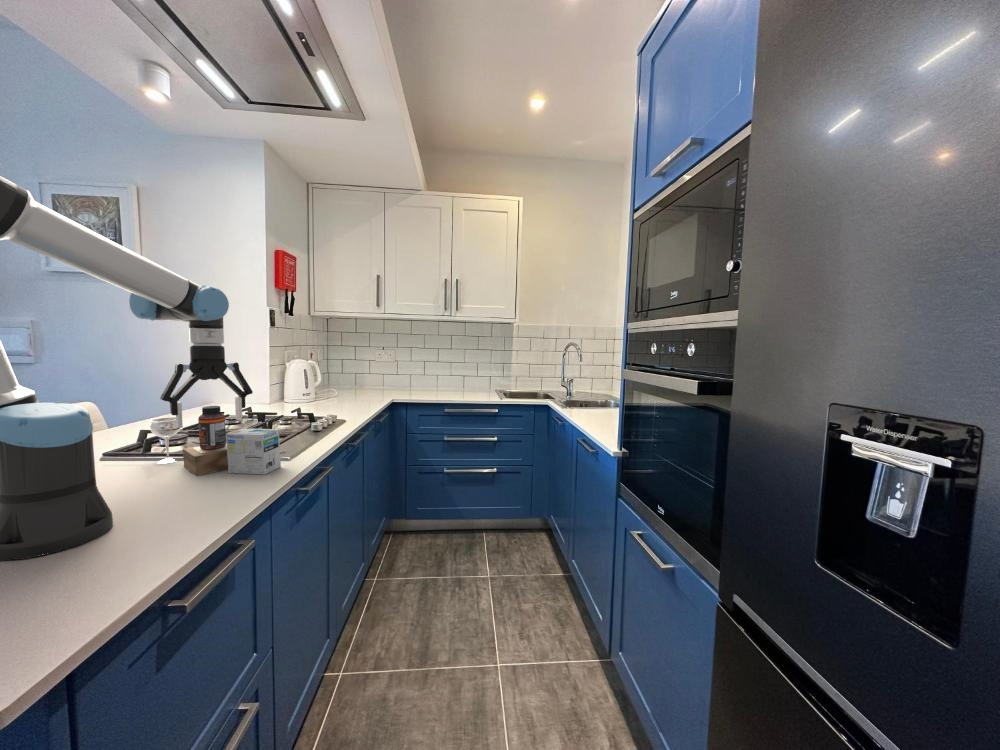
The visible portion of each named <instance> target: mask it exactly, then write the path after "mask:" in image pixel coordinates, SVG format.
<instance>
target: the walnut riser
mask: <svg viewBox="0 0 1000 750" xmlns="http://www.w3.org/2000/svg"><path fill="white" fill-rule="evenodd" d="M182 454H183V455H182V458H183V459H182V460H183V467H184V468H185V469H187V470H188V471H189V472H190V473H191V474H193V475H194V476H195V477H196V476H201V475H206V474H211V473H214V472H220V471H224V470H228V458H227V442H226V446H224V447H223V448H219V449H213V450H203V449H201V448H200V445H197V446H191V447H186V448H182Z"/></svg>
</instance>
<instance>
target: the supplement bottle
mask: <svg viewBox="0 0 1000 750" xmlns="http://www.w3.org/2000/svg"><path fill="white" fill-rule="evenodd" d="M201 408H202V409H201V411H202V412H201V415H199V416H198V418H197V421H198V438H199V446H200V448H201V449H203V450H213V449H219V448H223V447H224V446H226V433H227V432H226V431H227V430H226V427H227V426H226V416H225V414H224V413H222V412H221V406H220V405H206V406H203V407H201Z"/></svg>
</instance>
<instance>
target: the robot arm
mask: <svg viewBox="0 0 1000 750" xmlns="http://www.w3.org/2000/svg"><path fill="white" fill-rule="evenodd" d="M3 240H7V241H9V242H12V243H13V244H14V243H15V244H17V245H20V246H21V247H24V248H27V249H29V250H31V251H33V252H35V253H39V254H40V255H42V256H45V257H47V258H49V259H51V260H54V261H57V262H59V263H61V264H63V265H66V266H69V267H71V268H73V269H76V270H78V271H80V272H82V273H85V274H87V275H90V276H92V277H94V278H97V279H99V280H101V281H103V282H106V283H108V284H111V285H113V286H115V287H117V288H120V289H122V290H125V291H127V292H129V293H130V295H129V299H128V300H129V309H130V311H131V313H132V314H133V316H135V317H136V318H137V319H140V320H147V321H148V320H149V321H151V322H152V321H165V322H166V321H167V322H168V321H169V322H188V331H189V332H188V335H189V336H188V337H189V344H192V345H190V347H189V356H190V357H189V360H190V361H189V364H183V363H175V365H174V373H173V374H172V375H171V377H170V380H169V381H168V383H167V385H166V386H165V388H164V390H163V392H162V393H161V395H160V400H161V401H163V402H168V403H169V408H170V410H169V411H170V415H172V416H175V417H176V427H178V428H180V429H182V428H183V427H184V425H183V405H182V402H180V400H181V398H182V397H183V396H184V395H185V394H186V393H187V392H188V391H189V390H190V389H191V388H192V386H194V384H195V383H197V382H198V381H199V380H201V381H207V380H213V381H214V380H215V381H217V380H218V379H219V380H220V381H222V382H223V383H224V384H225V385H226V386H227V387H228V388H230V389H231V390H232V391H233V392H234V393H235V394H236V395H237V396H235V397H234V403H235V405H234V406H235V407H234V408H235V421H236V420H237V421H241V422H242V421H243V409H245V408H246V397H248V395H252V394H253V390H252V388H251V386H250V385H249V383H248V381H247V380H246V378H245V376H244V375H243V373H242V372H241V370H240V365H239V363H238V362H235V361H234V362H233V361H232V362H229V363H228V362H227V363H226V359H225V358H226V354H225V346H223V344H225V334H224V333H225V331H224V317H225V316H226V315H227V313H228V311H229V307H230V303H229V299H228V296H227V295H226V294H225V292H224V291H222V290H221V288H219V287H217V286H212V285H202V284H197V283H195V282H193V281H191V280H190V279H187V278H185V277H182V275H179V274H177V273H175V272H173V271H172V270H169V269H167V268H165V267H163V266H162V265H160V264H157V263H156V262H154V261H152V260H150V259H148V258H147V257H144V256H142V255H140V254H138V253H136V252H134V251H132V250H131V249H128V248H126V247H125V246H123V245H121V244H120V243H117V242H115V241H113V240H111V239H109V238H107V237H105V236H103V235H101V234H99V233H97V232H96V231H94V230H92V229H89V228H88V227H86V226H84V225H82V224H81V223H79V222H76V221H74V220H72V219H70V218H68V217H66V216H64V215H62V214H60V213H58V212H56V211H55V210H53V209H50V208H49V207H47V206H45V205H43V204H41V203H40V202H38V201H35V199H34V198H33V195H32V194H31V192H30V191H29V190H28V189H25V188H24V187H22V186H20V185H18V184H17V183H14V182H12V181H10V180H9V179H6V178H5V177H3V176H1V175H0V241H3ZM227 368H228V370H229V371H232V374H233V375H234V377H235V379H236V380H237V381H238V383H239V385H240V386H241V388H242V389H241V388H240V387H239V386H238V385H236V383H235V382H233V380H231V379H230V378H229V376H228V375H227V374H226V373H225V371H226V370H227ZM187 370H189V371H190V372H191V373H192V374H191V375H190V376H189V377H188V379H186V381H185V382H183V384H182V385H181V386H180V387H179V388H178V389H177V390H176V391H175V392H174V390H175V389H176V386H177V385H178V384H179V381H180V380H181V378H182V376H183V374H184V373H186V372H187ZM173 392H174V393H173ZM93 429H94V425H93V423H92V420H91V415H90V411H89V410H87V408H85V407H83V406H81V405H77V404H73V403H68V402H67V403H65V402H58V403H56V402H39V400H38V398H37V394H36V392H35V390H32V389H30V388H27V387H24V386H22V385H20V384H19V382H18V380H17V376H16V375H15V373H14V369H13V368H12V365H11V362H10V360H9V358H8V356H7V353H6V350H5V348H4V346H3V343H2V341H1V339H0V561H12V560H11V559H16V560H23V559H22V558H24V559H30V558H29V557H31V558H35V557H34V556H36V557H39V556H38V555H41V556H43V555H42V554H46V555H48V554H47V553H50V554H53V553H52V552H54V553H57V552H56V551H58V552H60V551H59V550H61V551H64V550H63V549H65V550H67V548H68V549H71V548H73V546H74V547H76V545H77V546H80V545H83V544H84V542H85V543H87V542H90V541H91V540H95V539H97V538H98V537H100V536H102V535H103V534H105V533H106V532H108V531H109V530H111V528H112V527H113V525H114V520H113V513H112V510H111V508H110V507H109V505H108V504H107V502H106V500H105V499H104V497H103V495H102V494H101V492H100V490H99V489H98V486H97V477H96V466H95V465H96V464H95V463H96V461H95V452H94V451H95V450H94V437H93ZM183 429H184V428H183ZM79 544H80V545H79ZM70 547H71V548H70Z"/></svg>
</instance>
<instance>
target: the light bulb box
mask: <svg viewBox="0 0 1000 750" xmlns="http://www.w3.org/2000/svg"><path fill="white" fill-rule="evenodd" d="M226 442H227V458H228V469H227V470H228V471H227V472H228V474H246V475H247V474H249V475H266V474H267V475H268V473H271V472H273V471H275V470H277V469H279V468H281V467H282V464H281V463H282V462H281V445H280V429H279V428H274V429H273V428H246V427H245V428H244V427H243V428H240V429H237V430H233V431H229V432H226Z"/></svg>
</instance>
